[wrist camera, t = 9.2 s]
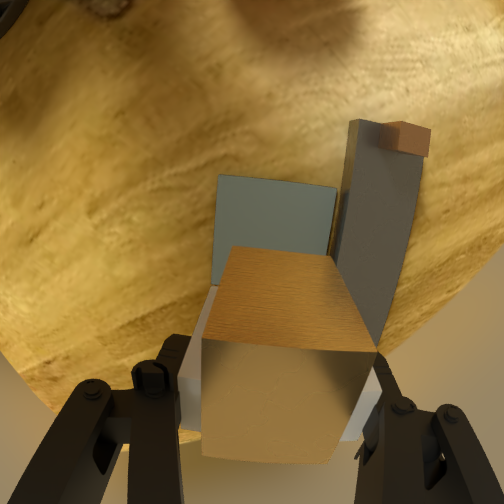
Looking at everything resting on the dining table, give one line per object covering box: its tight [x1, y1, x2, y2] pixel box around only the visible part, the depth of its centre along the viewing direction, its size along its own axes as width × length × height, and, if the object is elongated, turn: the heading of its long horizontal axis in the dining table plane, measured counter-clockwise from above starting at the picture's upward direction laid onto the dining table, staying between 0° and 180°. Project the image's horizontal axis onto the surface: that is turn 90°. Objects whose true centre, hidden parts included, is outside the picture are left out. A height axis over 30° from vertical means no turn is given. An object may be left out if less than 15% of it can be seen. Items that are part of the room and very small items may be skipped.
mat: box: [211, 174, 337, 285], centre depth 28 cm, size 10×10×1 cm
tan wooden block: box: [201, 245, 378, 464], centre depth 13 cm, size 6×5×8 cm
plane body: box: [330, 119, 431, 348], centre depth 25 cm, size 22×6×7 cm, turn 174°
